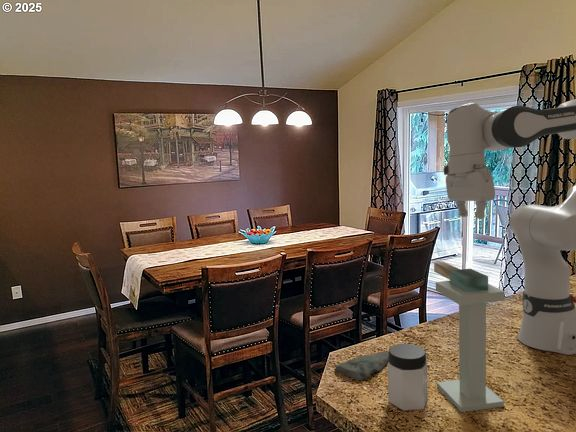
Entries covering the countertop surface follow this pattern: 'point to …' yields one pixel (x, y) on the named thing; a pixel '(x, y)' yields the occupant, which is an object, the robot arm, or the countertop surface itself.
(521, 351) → the countertop surface
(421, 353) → the jar
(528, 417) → the countertop surface
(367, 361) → the stone
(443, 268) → the mallet
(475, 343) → the shelf stand
